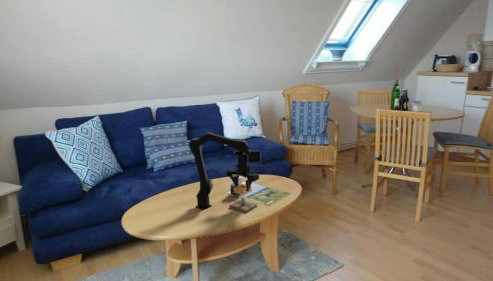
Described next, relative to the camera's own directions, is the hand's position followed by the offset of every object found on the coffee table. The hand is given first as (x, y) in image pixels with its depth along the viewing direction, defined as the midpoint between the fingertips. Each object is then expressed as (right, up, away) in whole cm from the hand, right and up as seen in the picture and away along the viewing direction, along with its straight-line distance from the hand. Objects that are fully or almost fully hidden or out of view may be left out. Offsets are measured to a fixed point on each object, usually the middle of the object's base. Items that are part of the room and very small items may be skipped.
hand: (242, 189), depth 189 cm
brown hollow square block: (0, -1, 0) cm, 1 cm away
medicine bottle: (-3, -6, +21) cm, 22 cm away
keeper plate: (0, -10, +2) cm, 10 cm away
